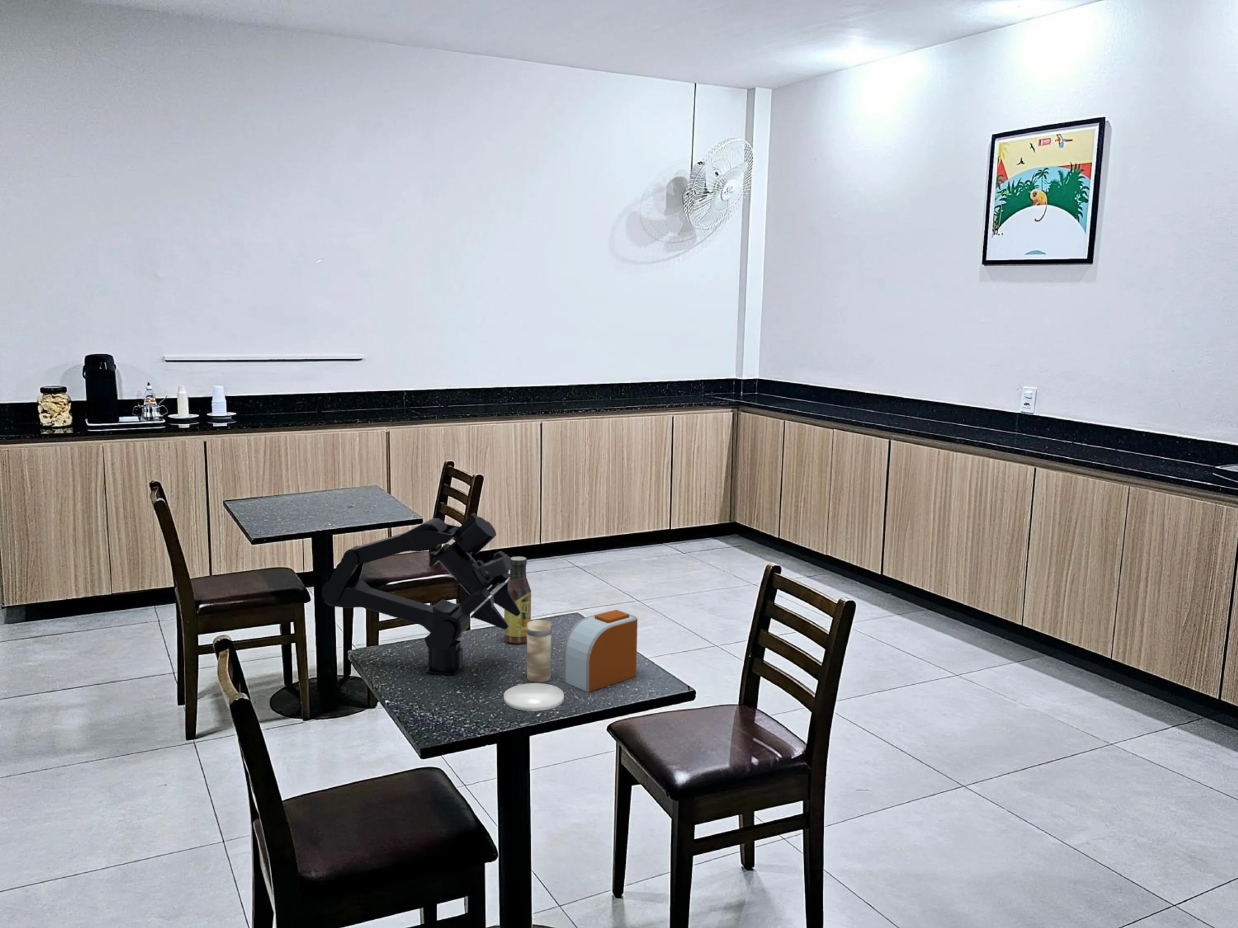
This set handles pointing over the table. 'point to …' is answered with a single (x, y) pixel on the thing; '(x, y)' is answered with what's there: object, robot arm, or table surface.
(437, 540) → the robot arm
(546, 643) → the beech handle
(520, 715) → the table surface
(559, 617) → the table surface
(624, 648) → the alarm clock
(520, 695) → the ceramic plate
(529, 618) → the sauce bottle
